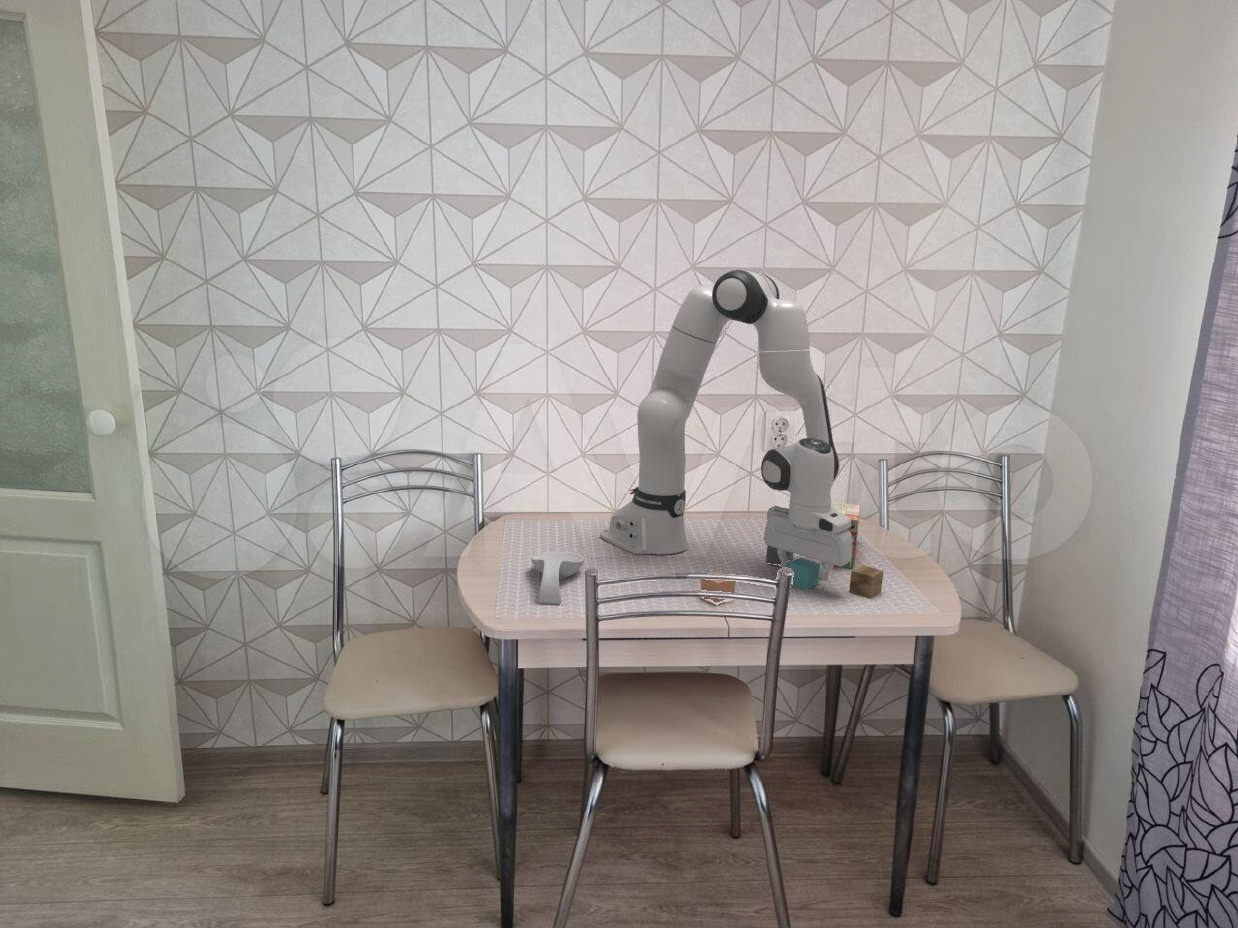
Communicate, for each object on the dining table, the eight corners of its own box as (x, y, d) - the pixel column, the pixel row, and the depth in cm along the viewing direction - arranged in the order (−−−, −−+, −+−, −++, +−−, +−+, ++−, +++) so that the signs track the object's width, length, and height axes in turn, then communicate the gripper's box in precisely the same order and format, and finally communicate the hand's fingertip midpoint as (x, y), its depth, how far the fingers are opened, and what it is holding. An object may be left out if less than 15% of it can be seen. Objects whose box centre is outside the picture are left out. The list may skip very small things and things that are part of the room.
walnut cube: (849, 592, 195) (851, 570, 194) (860, 586, 199) (862, 564, 197) (870, 598, 192) (872, 576, 190) (881, 592, 195) (883, 570, 194)
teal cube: (786, 583, 198) (788, 562, 197) (798, 578, 202) (800, 557, 201) (806, 590, 195) (808, 568, 194) (818, 584, 199) (820, 563, 197)
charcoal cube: (765, 563, 210) (767, 543, 209) (772, 557, 215) (774, 537, 213) (786, 567, 208) (788, 547, 207) (792, 561, 212) (794, 541, 211)
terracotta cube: (700, 598, 189) (701, 575, 188) (717, 593, 192) (718, 571, 191) (716, 606, 185) (718, 583, 184) (733, 600, 188) (735, 578, 187)
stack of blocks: (831, 538, 230) (836, 492, 227) (857, 541, 228) (861, 494, 225) (825, 566, 210) (830, 516, 207) (853, 569, 208) (858, 519, 205)
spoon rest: (533, 563, 206) (534, 534, 204) (585, 565, 206) (585, 535, 204) (521, 605, 183) (522, 571, 181) (579, 607, 183) (580, 573, 181)
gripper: (760, 506, 199) (756, 565, 202) (844, 528, 186) (838, 590, 189) (776, 501, 204) (771, 558, 207) (858, 521, 190) (852, 582, 194)
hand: (804, 573), depth 198 cm, fingers open, 8 cm apart
